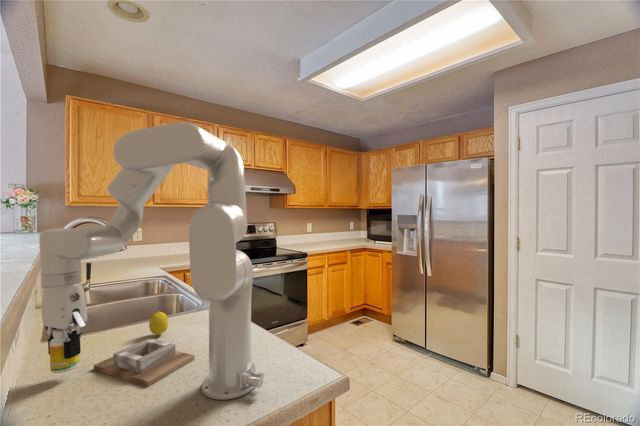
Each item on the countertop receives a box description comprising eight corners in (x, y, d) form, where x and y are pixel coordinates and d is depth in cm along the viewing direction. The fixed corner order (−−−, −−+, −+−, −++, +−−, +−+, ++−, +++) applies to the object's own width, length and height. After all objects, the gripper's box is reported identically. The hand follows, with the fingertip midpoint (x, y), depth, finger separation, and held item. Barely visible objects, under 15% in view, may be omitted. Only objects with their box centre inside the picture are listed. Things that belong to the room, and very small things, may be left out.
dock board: (194, 359, 85) (194, 344, 85) (148, 386, 72) (148, 368, 72) (143, 347, 92) (143, 333, 92) (93, 369, 79) (93, 353, 79)
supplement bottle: (59, 364, 76) (57, 325, 76) (83, 361, 78) (82, 323, 78) (44, 375, 71) (43, 334, 71) (71, 372, 72) (70, 331, 72)
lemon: (160, 339, 97) (160, 314, 97) (145, 338, 99) (145, 313, 99) (172, 333, 103) (171, 309, 103) (157, 331, 104) (157, 308, 104)
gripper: (101, 278, 74) (103, 352, 75) (58, 274, 81) (61, 343, 81) (65, 285, 67) (68, 367, 68) (22, 280, 74) (25, 355, 74)
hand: (64, 353), depth 74 cm, fingers closed on supplement bottle, 5 cm apart
